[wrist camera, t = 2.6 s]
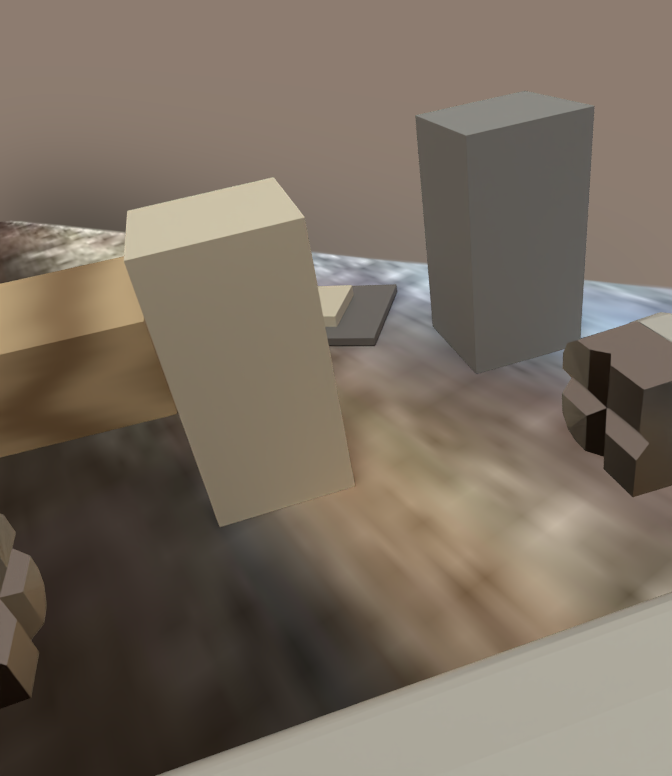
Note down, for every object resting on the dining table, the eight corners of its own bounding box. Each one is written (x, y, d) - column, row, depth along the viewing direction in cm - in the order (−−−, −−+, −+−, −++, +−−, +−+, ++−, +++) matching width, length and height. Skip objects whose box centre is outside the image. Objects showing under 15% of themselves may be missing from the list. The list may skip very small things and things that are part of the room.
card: (227, 345, 34) (222, 329, 33) (266, 294, 38) (262, 279, 38) (374, 345, 31) (372, 327, 31) (397, 291, 36) (395, 274, 35)
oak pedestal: (-22, 467, 28) (-79, 373, 25) (21, 369, 36) (-20, 288, 33) (178, 418, 29) (143, 321, 26) (179, 332, 36) (152, 250, 34)
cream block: (219, 527, 22) (123, 261, 17) (207, 445, 26) (127, 210, 21) (355, 486, 23) (304, 217, 18) (322, 413, 27) (273, 177, 22)
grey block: (476, 374, 28) (466, 135, 22) (433, 326, 32) (415, 115, 26) (579, 344, 28) (594, 105, 23) (524, 301, 32) (525, 90, 27)
